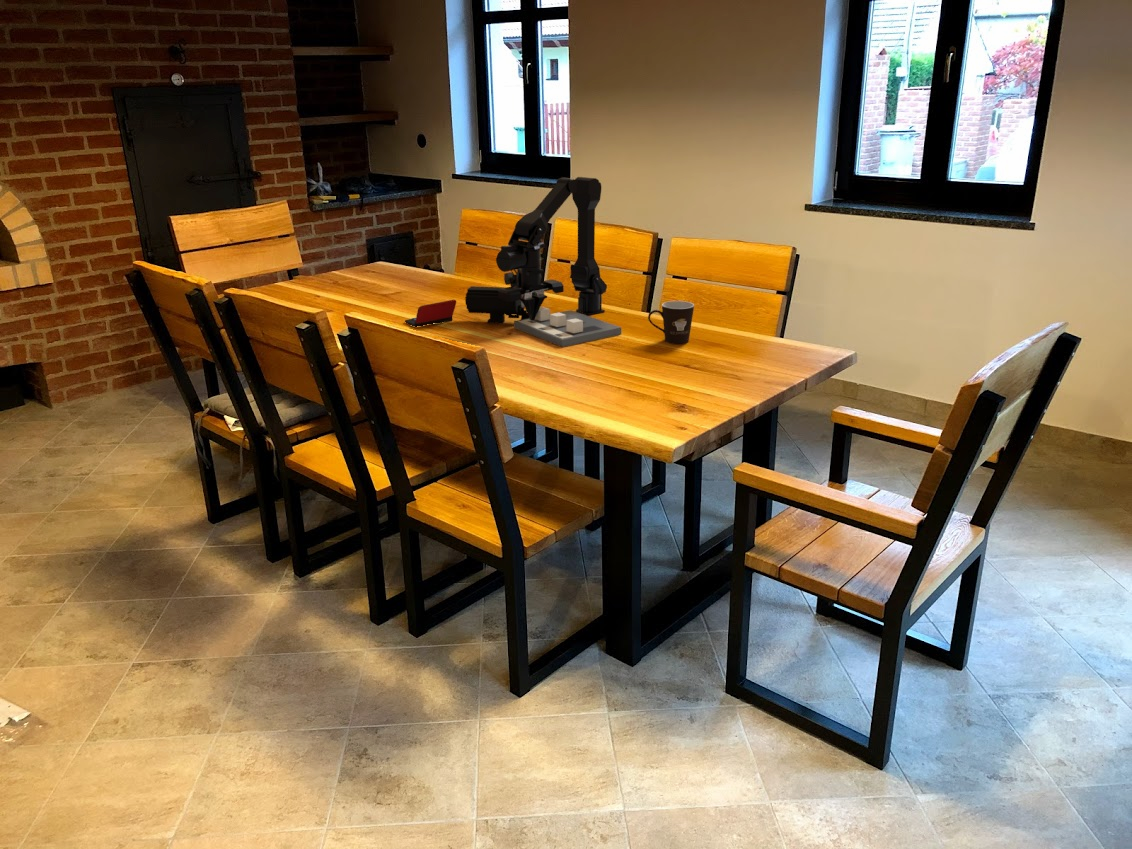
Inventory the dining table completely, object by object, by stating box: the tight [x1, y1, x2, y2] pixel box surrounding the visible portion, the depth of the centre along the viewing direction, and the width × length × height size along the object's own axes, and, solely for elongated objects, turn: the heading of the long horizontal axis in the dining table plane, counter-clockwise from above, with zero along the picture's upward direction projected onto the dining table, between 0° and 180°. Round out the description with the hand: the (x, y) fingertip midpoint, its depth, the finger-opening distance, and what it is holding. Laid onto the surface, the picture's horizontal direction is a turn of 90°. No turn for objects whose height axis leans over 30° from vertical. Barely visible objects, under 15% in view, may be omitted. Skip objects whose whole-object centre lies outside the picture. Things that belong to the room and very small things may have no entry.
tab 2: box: [550, 311, 566, 327], centre depth 253 cm, size 3×3×3 cm
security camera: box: [464, 285, 529, 325], centre depth 264 cm, size 7×18×10 cm, turn 79°
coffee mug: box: [647, 300, 695, 345], centre depth 244 cm, size 12×9×10 cm
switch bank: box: [513, 309, 622, 348], centre depth 256 cm, size 20×24×2 cm
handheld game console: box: [404, 299, 457, 327], centre depth 265 cm, size 12×11×7 cm
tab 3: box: [567, 318, 583, 333], centre depth 247 cm, size 3×3×3 cm
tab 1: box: [535, 306, 551, 321], centre depth 259 cm, size 3×3×3 cm
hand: (532, 320), depth 258 cm, fingers closed
